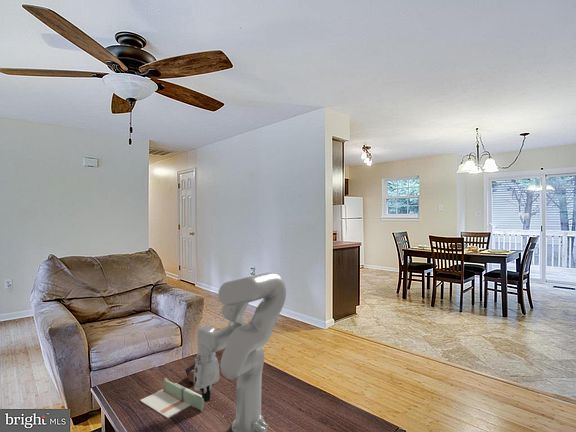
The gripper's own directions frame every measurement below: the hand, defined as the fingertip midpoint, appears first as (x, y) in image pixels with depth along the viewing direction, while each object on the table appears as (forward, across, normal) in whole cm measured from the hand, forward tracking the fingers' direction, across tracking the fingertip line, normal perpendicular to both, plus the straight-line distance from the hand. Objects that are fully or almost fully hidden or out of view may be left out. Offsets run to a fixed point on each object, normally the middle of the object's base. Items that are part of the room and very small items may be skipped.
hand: (206, 400), depth 138 cm
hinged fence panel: (+1, -4, +4) cm, 6 cm away
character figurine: (+2, +10, +22) cm, 24 cm away
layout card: (+2, -8, +14) cm, 16 cm away
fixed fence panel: (+2, -6, +17) cm, 18 cm away
